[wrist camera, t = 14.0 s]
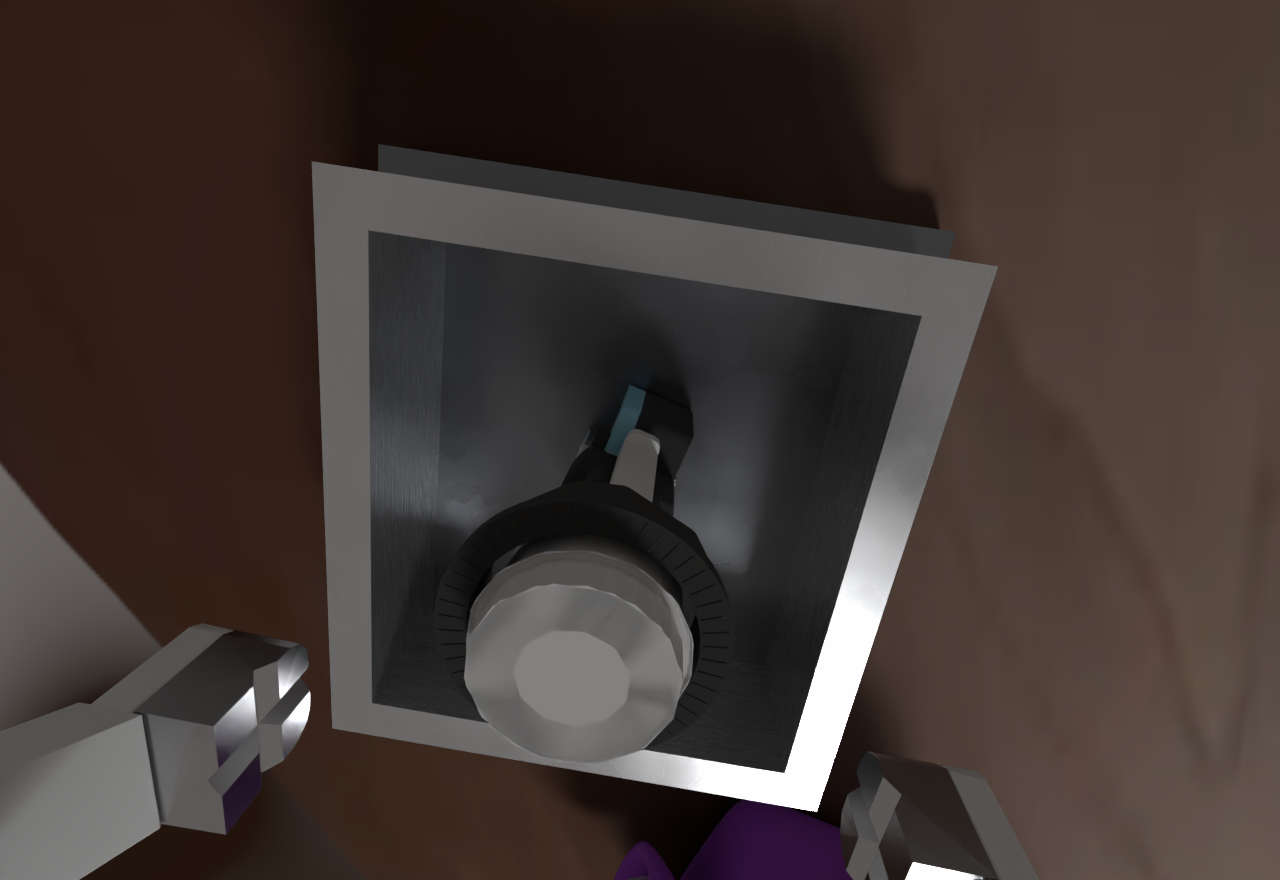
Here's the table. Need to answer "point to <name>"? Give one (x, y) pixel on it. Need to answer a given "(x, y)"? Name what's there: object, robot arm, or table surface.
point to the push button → (591, 602)
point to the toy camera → (752, 849)
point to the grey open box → (590, 398)
